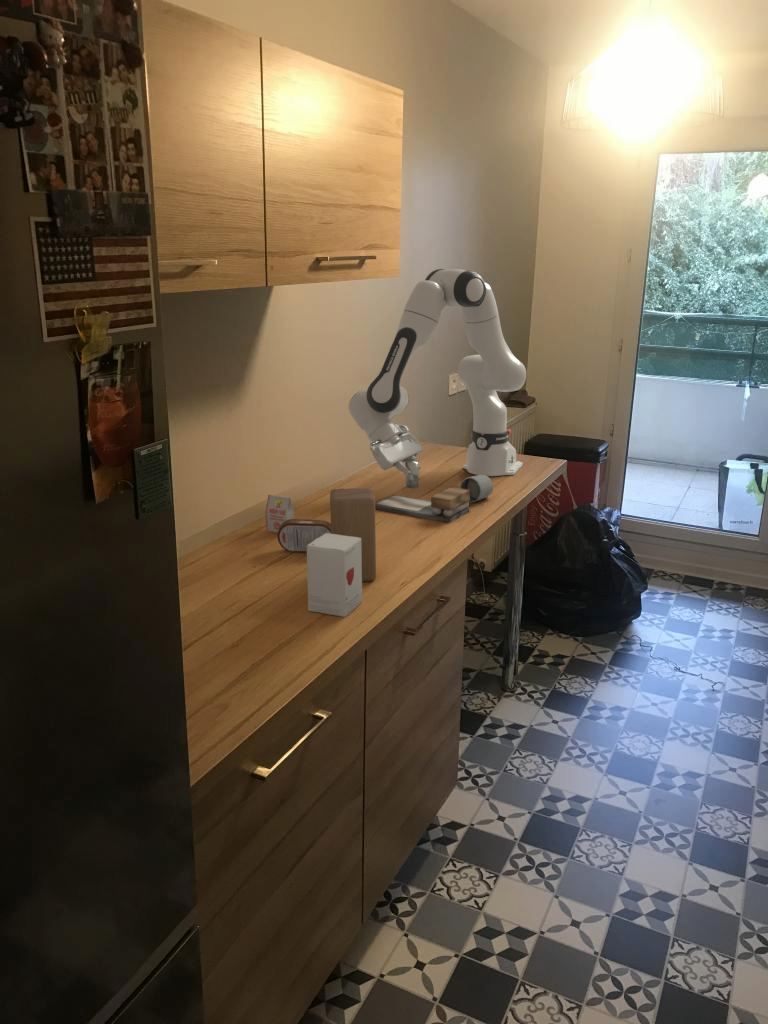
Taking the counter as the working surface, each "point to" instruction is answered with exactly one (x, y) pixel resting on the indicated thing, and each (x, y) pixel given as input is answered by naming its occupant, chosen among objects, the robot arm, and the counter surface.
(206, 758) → the counter surface
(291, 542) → the tin
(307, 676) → the counter surface
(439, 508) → the grey board with block
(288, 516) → the tea bag
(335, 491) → the wooden block
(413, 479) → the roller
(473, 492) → the ceramic mug
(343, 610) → the supplement box
